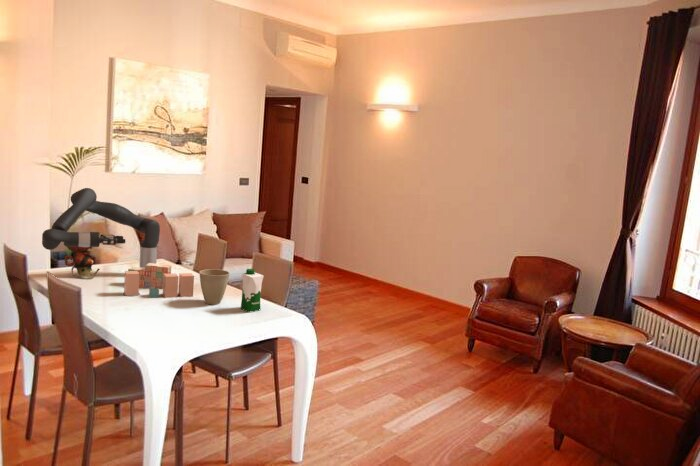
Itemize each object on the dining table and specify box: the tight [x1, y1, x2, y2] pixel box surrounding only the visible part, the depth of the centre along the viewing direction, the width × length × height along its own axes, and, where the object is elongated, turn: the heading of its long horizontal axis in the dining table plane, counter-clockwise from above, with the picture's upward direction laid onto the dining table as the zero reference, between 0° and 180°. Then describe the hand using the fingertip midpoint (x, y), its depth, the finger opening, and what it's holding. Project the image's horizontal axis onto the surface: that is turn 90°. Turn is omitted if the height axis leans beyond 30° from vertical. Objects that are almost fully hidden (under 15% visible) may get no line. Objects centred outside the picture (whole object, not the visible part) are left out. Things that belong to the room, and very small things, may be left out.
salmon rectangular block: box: [162, 273, 179, 299], centre depth 286 cm, size 6×6×11 cm
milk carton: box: [240, 268, 265, 312], centre depth 275 cm, size 9×9×20 cm
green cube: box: [148, 287, 160, 299], centre depth 282 cm, size 4×4×4 cm
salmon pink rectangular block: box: [123, 270, 140, 296], centre depth 282 cm, size 6×6×11 cm
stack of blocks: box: [127, 263, 172, 290], centre depth 300 cm, size 21×6×12 cm, turn 91°
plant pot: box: [198, 268, 231, 306], centre depth 280 cm, size 15×15×16 cm
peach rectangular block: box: [178, 272, 195, 298], centre depth 289 cm, size 6×6×11 cm
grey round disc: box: [122, 292, 141, 297], centre depth 283 cm, size 8×8×1 cm
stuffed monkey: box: [63, 242, 101, 280], centre depth 304 cm, size 15×17×25 cm
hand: (124, 239), depth 278 cm, fingers open, 8 cm apart
